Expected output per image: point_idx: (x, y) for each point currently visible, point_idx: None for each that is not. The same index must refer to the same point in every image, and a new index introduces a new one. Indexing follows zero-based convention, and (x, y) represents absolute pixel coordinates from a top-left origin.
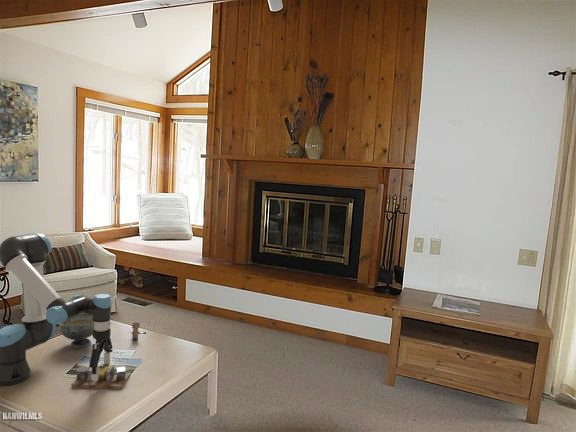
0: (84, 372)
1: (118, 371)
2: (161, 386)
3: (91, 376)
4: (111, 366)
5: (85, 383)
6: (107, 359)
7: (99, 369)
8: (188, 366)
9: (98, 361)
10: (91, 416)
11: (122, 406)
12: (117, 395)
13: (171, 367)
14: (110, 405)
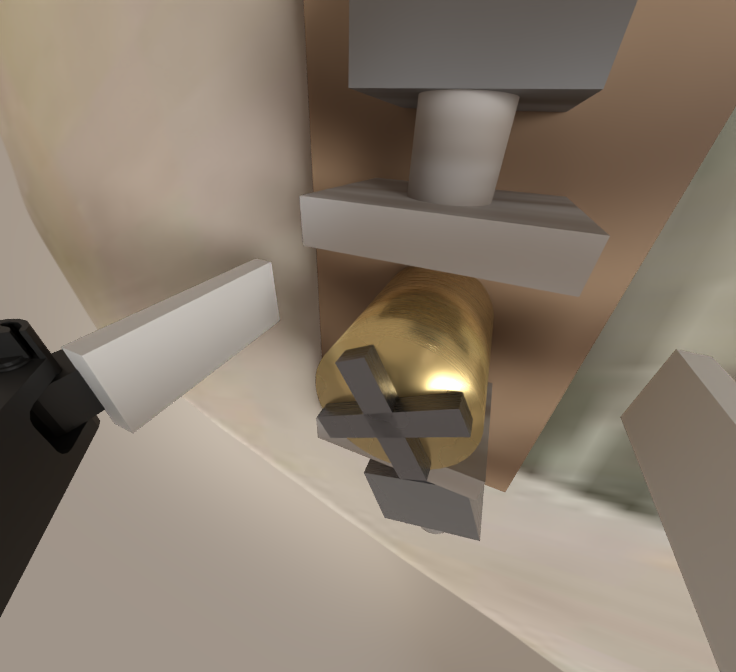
0: (354, 87)
1: (376, 482)
2: (373, 533)
3: (221, 274)
4: (438, 472)
5: (335, 156)
6: (689, 502)
7: (320, 364)
8: (562, 663)
9: (51, 502)
10: (120, 299)
11: (216, 402)
12: (280, 391)
13: (578, 631)
14: None
